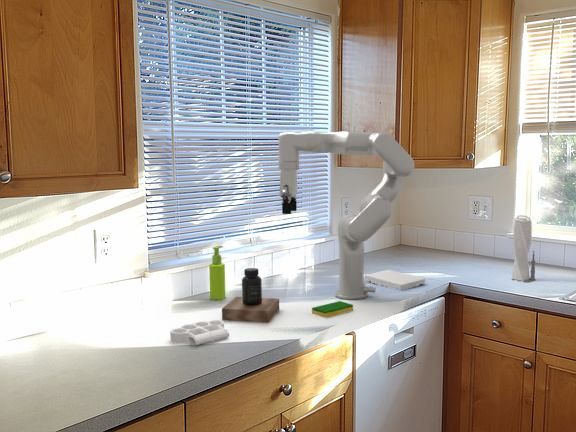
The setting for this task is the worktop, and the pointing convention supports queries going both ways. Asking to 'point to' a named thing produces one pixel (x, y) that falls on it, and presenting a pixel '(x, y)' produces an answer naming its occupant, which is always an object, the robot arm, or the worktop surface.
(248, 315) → the stand
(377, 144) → the robot arm
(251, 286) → the supplement bottle
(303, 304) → the worktop surface
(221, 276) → the soap dispenser
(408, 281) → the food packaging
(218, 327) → the white compartment tray
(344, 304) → the dish sponge
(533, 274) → the paper towel holder
